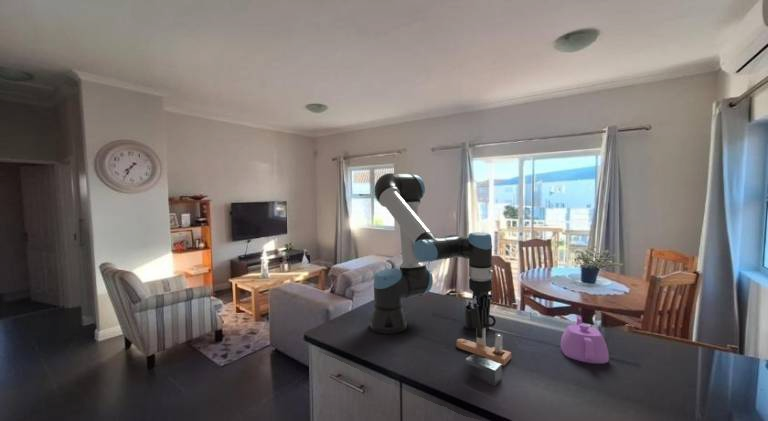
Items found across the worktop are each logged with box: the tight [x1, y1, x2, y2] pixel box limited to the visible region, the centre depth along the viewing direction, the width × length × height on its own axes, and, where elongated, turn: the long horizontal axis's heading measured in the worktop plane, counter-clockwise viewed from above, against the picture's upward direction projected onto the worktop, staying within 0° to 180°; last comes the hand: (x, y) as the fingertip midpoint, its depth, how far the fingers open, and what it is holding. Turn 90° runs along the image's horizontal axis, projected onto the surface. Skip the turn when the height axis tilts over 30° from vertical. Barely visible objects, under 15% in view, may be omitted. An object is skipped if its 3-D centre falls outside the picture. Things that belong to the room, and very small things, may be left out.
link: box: [456, 338, 512, 367], centre depth 106 cm, size 18×6×2 cm, turn 48°
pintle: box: [494, 333, 503, 356], centre depth 102 cm, size 2×2×8 cm
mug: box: [464, 304, 497, 332], centre depth 127 cm, size 9×12×9 cm
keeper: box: [465, 353, 503, 387], centre depth 92 cm, size 9×4×5 cm, turn 46°
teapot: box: [560, 315, 610, 365], centre depth 105 cm, size 13×20×11 cm
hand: (481, 345), depth 108 cm, fingers closed
